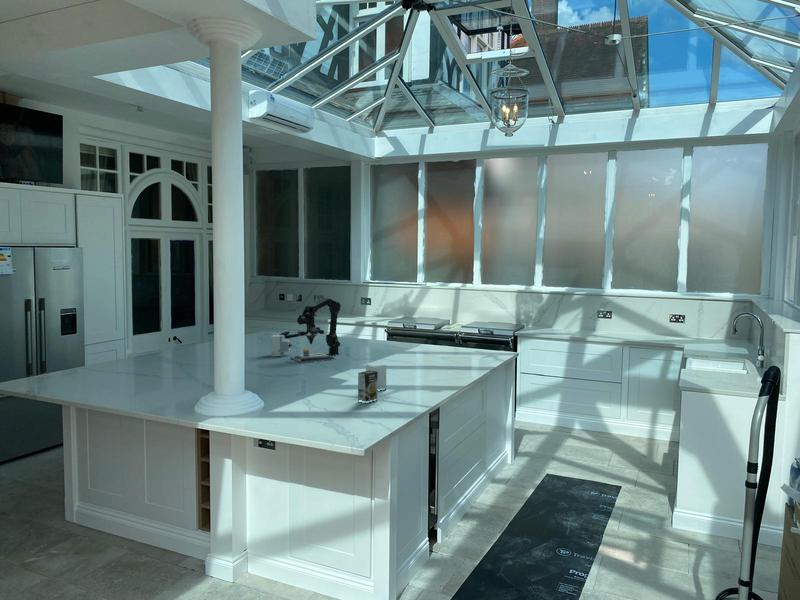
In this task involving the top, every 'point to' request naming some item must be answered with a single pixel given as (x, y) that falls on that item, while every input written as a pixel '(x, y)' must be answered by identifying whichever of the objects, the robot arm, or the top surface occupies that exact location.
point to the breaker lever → (306, 352)
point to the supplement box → (381, 373)
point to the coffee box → (367, 385)
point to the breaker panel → (311, 357)
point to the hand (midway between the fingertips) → (311, 344)
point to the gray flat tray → (313, 358)
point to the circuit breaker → (279, 345)
